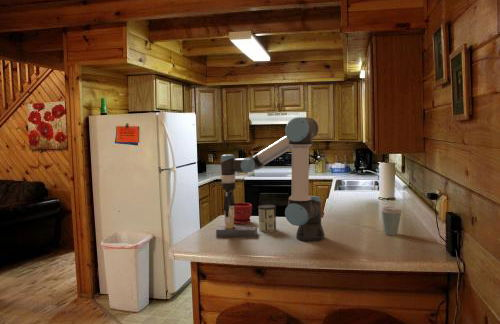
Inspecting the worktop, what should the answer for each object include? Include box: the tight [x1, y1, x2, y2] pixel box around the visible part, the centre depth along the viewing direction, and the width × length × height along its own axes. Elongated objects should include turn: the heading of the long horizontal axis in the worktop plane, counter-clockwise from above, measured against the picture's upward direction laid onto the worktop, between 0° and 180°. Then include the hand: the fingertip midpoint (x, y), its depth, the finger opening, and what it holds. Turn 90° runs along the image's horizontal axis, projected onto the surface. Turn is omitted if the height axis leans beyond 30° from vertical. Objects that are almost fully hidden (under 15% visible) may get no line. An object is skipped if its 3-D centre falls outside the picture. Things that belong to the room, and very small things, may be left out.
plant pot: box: [234, 202, 253, 225], centre depth 269 cm, size 13×13×12 cm
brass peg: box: [224, 208, 235, 229], centre depth 239 cm, size 4×4×15 cm
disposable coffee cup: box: [380, 206, 402, 237], centre depth 232 cm, size 11×11×15 cm
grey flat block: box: [215, 225, 258, 238], centre depth 238 cm, size 22×8×4 cm, turn 82°
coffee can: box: [257, 204, 277, 233], centre depth 249 cm, size 10×10×14 cm
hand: (229, 219), depth 238 cm, fingers open, 13 cm apart
